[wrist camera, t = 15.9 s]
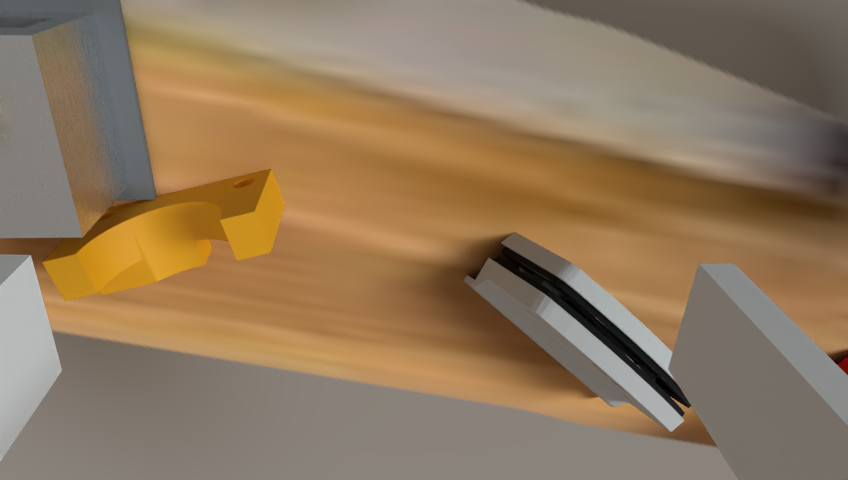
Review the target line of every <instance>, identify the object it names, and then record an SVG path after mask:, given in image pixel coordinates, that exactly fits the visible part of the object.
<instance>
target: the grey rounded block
mask: <svg viewBox="0 0 848 480" xmlns="http://www.w3.org/2000/svg"><path fill="white" fill-rule="evenodd" d="M501 243H502V244H503V245H504V246H505V248H504V249H503V250H502V252H503V253H504V254H505V255H506V256H508V257H509V258H510V259H511V260H512V261H513V262H514V263H515V264H516V265H518V266H519V270H518V269H517V268H515V267H513V266H512V265H510V264H509V263H507V262H506V261H504V260H502V259H501V258H499V257H498V256H497V257H496V258H495V260H494V261H493V260H492V259H490V258H488V259H487V261H486V263H485V264H484V266H483V268H482V270H481V271H480V273H479V275H478V276H477V278H476V280H474V279H473V278H471V277H470V276H468V275H467V276H466V277H465V279H464V280H463V281H464V282H466V283H467V284H468V285H469V286H470V287H471V288H473V289H474V290H475V291H476V292H477V293H478V294H480V295H481V296H482V297H483V298H484V299H485V300H487V301H488V302H489V303H490V304H491V305H492V306H494V307H495V308H496V309H497V310H498V311H499V312H501V313H502V314H503V315H504V316H505V317H506V318H508V319H509V320H510V321H511V322H512V323H513V324H515V325H516V326H517V327H518V328H519V329H520V330H522V331H523V332H524V333H525V334H526V335H527V336H529V337H530V338H531V339H532V340H533V341H534V342H536V343H537V344H538V345H539V346H540V347H541V348H543V349H544V350H545V351H546V352H547V353H548V354H550V355H551V356H552V357H553V358H554V359H555V360H557V361H558V362H559V363H560V364H561V365H562V366H564V367H565V368H566V369H567V370H568V371H569V372H571V373H572V374H573V375H574V376H575V377H576V378H578V379H579V380H580V381H581V382H582V383H583V384H585V385H586V386H587V387H588V388H589V389H590V390H592V391H593V392H594V393H595V394H596V395H597V396H599V397H600V398H601V399H602V400H603V401H605V402H606V403H607V404H609V405H610V406H611V407H615V406H618V405H621V404H625V403H631V404H632V405H633V406H635V407H636V408H637V409H639V410H640V411H642V412H643V413H644V414H646V415H647V416H649V417H650V418H651V419H653V420H654V421H655V422H657V423H658V424H660V425H661V426H662V427H664V428H665V429H666V430H668V431H669V432H671V431H673V430H674V429H675V428H676V427H678V426H679V425H680V424H681V423H682V422H684V419H683V418H682V416H683V415H684V414H685V412H684V411H683V410H682V409H681V408H680V407H679V406H678V405H677V404H676V402H675V401H674V400H673V399H672V398H674V399H675V400H677V401H678V402H680V403H681V404H683V405H685V406H686V407H688V408H689V407H690V406H691V404H690V403H689V401H688V400H687V398H686V397H685V395H684V393H683V392H682V390H681V389H680V387H679V386H678V384H677V382H676V381H675V379H674V378H673V376H672V375H671V373H670V371H669V370H668V367H669V364H670V360H671V357H672V352H671V351H670V350H669V349H668V348H667V347H666V346H665V345H664V344H663V343H662V342H661V341H660V340H659V339H658V338H657V337H656V336H655V335H654V334H653V333H652V332H651V331H650V330H649V329H648V328H647V327H646V326H645V325H643V324H642V323H641V322H640V321H639V320H638V319H637V318H636V317H635V316H634V315H632V314H631V313H630V312H629V311H628V310H627V309H626V308H625V307H624V306H622V305H621V304H620V303H619V302H618V301H617V300H616V299H615V298H613V297H612V296H611V295H610V294H609V293H608V292H607V291H605V290H604V289H603V288H602V287H601V286H599V285H598V284H597V283H596V282H595V281H594V280H592V279H591V278H590V277H589V276H588V275H587V274H585V273H584V272H583V271H582V270H581V269H579V268H578V267H577V266H575V265H574V264H572V263H571V262H569V261H567V260H566V259H564V258H562V257H560V256H558V255H556V254H555V253H553V252H551V251H549V250H547V249H545V248H544V247H542V246H540V245H538V244H536V243H534V242H532V241H531V240H529V239H527V238H525V237H523V236H521V235H520V234H518V233H516V232H515V233H513V234H512V235H510V236H509V237H507V238H506V239H505V240H504V241H502V242H501ZM564 300H569V301H570V302H571V303H572V304H573V305H574V306H575V307H576V308H577V309H578V310H579V311H580V312H582V313H583V314H584V315H585V316H586V317H587V318H588V319H589V320H590V321H591V324H592V325H591V324H590V323H589V322H588V321H587V320H586V319H584V318H583V317H582V316H581V315H580V314H579V313H578V312H576V311H575V310H574V309H573V308H572V307H570V306H569V305H568V304H567V303H566V302H564ZM671 397H672V398H671Z"/></svg>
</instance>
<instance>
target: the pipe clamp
mask: <svg viewBox="0 0 848 480" xmlns="http://www.w3.org/2000/svg"><path fill="white" fill-rule="evenodd" d="M284 206H285V205H284V202H283V199H282V197H281V194H280V191H279V188H278V186H277V183H276V180H275V177H274V175H273V172H272V169H269V170H264V171H260V172H256V173H252V174H248V175H244V176H239V177H235V178H231V179H227V180H223V181H219V182H215V183H210V184H206V185H202V186H198V187H194V188H190V189H185V190H181V191H177V192H173V193H169V194H165V195H160V196H157V197H156V198H155V199H154V200H140V201H135V202H131V203H127V204H123V205H119V206H115V207H110V208H108V210H107V211H106V212H105V213H104V214H103V215H102V216H101V217H100V218H99V220H98V221H97V222H96V223H95V224H94V225H93V226H92V227H91V229H90V230H89V231H88V232H87V233H86V234H85V235H84V236H83V237H76V238H64V239H63V240H62V241H61V242H60V244H59V245H58V246H57V247H56V248H55V249H54V250H53V251H52V252H51V253H50V254H49V255H48V256H47V257H46V258H45V259H44V261H43V262H42V263H43V265H44V267H45V268H46V270H47V272H48V273H49V275H50V277H51V278H52V280H53V282H54V283H55V285H56V287H57V288H58V290H59V292H60V293H61V295H62V297H63V298H64V300H65V301H67V300H71V299H75V298H80V297H84V296H88V295H92V294H97V293H98V292H100V294H101V295H104V294H109V293H113V292H117V291H121V290H126V289H130V288H134V287H138V286H143V285H147V284H151V283H156V282H158V281H160V280H162V279H164V278H166V277H168V276H171V275H173V274H176V273H178V272H181V271H184V270H187V269H191V268H194V267H198V266H203V265H205V263H206V260H207V258H208V256H209V254H210V252H211V250H212V246H211V244H210V242H209V240H210V239H215V240H224V241H228V242H229V243H230V245H231V248H232V250H233V252H234V255H235V257H236V259H237V260H241V259H246V258H250V257H254V256H258V255H263V254H267V253H271V250H272V246H273V243H274V240H275V236H276V233H277V230H278V226H279V223H280V220H281V216H282V213H283V210H284Z"/></svg>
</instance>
